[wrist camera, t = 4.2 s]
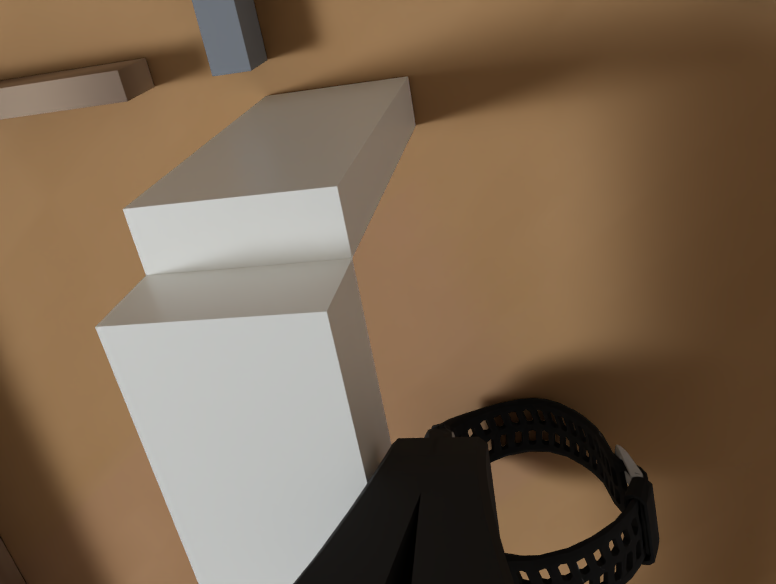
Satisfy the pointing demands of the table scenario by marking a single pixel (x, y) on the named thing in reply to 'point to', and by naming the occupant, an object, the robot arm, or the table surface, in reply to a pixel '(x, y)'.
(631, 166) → the table surface
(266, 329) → the clamp arch
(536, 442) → the smartwatch
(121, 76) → the track
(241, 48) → the frame
